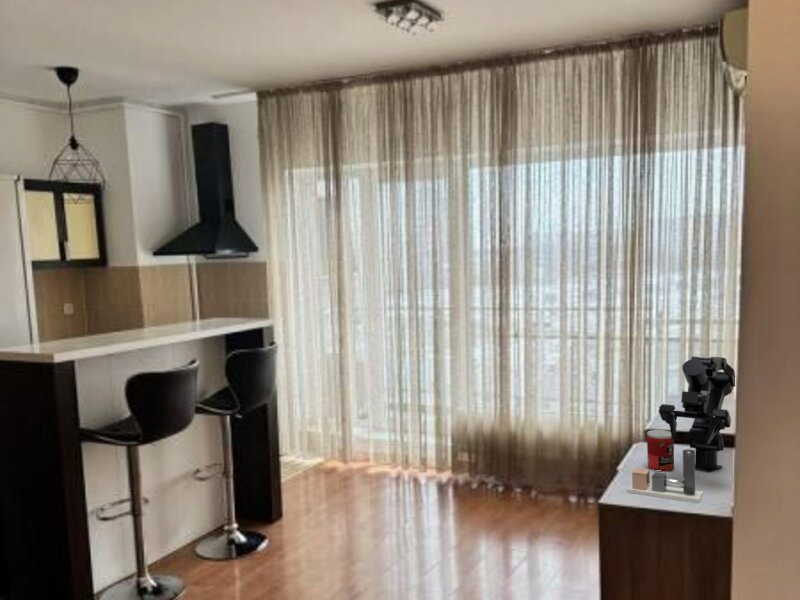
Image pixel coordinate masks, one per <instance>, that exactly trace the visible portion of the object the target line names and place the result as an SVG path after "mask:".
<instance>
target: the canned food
mask: <svg viewBox="0 0 800 600" xmlns="http://www.w3.org/2000/svg"><path fill="white" fill-rule="evenodd" d="M646 445H647V446H646V448H647V466H648V468H649V469H650V468H651V469H650V470H652V469H654V470H653V471H655V470H661V471H660V472H662V471H666V472H669V471H668V470H671V471H672V469H673V470H674V468H675V439H674V440H672V436H671V431H669V430H664V429H652V430H648V431H647V432H646Z"/></svg>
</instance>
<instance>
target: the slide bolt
mask: <svg viewBox="0 0 800 600" xmlns="http://www.w3.org/2000/svg"><path fill="white" fill-rule="evenodd" d="M695 454H696V450H693V449H683V450H682V473H683V474H682V475H683V477H682V479H683V480H682V479H675V478H668V477H667V478H664V485H666V486H667V487H674V488H681V489H684V493H687V494H694V493H695V491H696V468H695Z"/></svg>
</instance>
